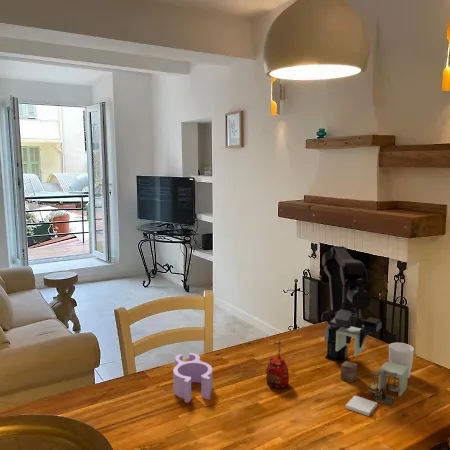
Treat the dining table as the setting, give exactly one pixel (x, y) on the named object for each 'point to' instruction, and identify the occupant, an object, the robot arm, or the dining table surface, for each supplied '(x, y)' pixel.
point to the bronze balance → (383, 388)
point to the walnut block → (349, 371)
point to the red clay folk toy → (277, 371)
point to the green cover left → (351, 332)
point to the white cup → (401, 355)
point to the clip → (191, 376)
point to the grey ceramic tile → (361, 405)
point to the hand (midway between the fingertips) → (349, 344)
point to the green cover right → (401, 373)
